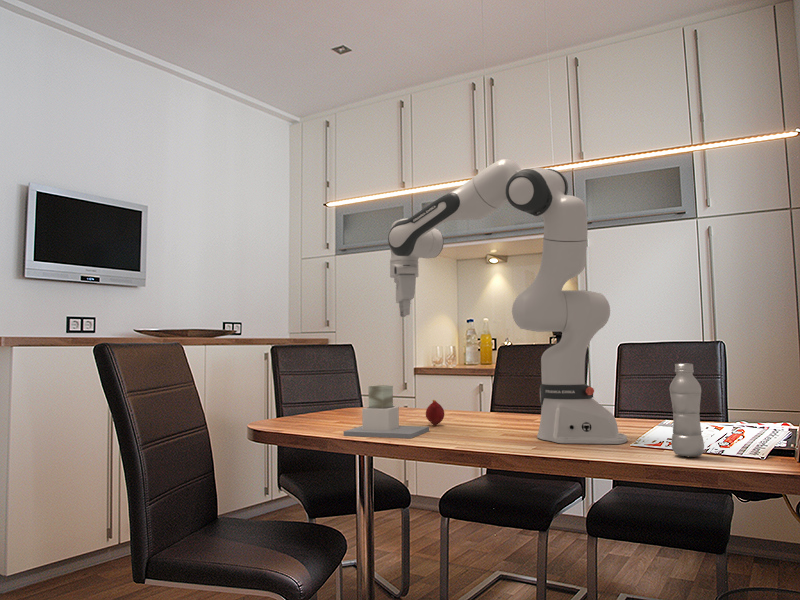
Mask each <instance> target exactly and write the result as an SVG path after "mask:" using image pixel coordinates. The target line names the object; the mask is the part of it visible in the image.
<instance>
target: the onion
mask: <svg viewBox="0 0 800 600" xmlns="http://www.w3.org/2000/svg"><path fill="white" fill-rule="evenodd" d="M425 410H426V411H425V417H426V420H427V421H428V422H429V423H431V425H432V426H433V427H436V426H437V425H439V424H440V423H442V421H443V420H444V418H445V410H444V407H443V406H442V404H440V403H439V402H438V401H437V400H435V399H433V400H432V402H431V403H430V404H429V405H428V406H427V407H426V409H425Z"/></svg>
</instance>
